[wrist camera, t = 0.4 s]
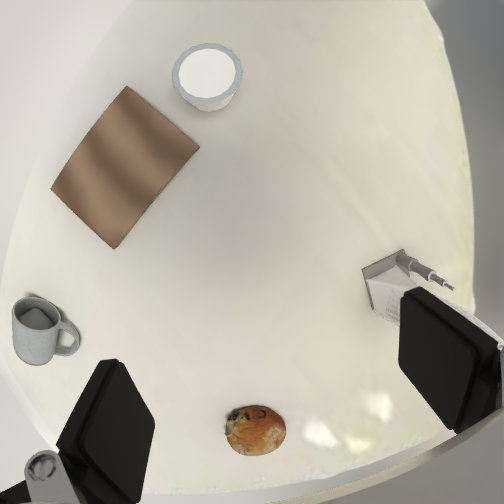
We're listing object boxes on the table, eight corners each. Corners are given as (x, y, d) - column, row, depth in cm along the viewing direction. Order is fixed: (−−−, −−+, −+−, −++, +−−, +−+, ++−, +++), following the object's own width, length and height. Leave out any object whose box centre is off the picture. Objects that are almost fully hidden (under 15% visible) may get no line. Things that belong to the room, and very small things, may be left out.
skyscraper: (412, 297, 41) (539, 406, 15) (367, 321, 42) (480, 458, 15) (402, 249, 39) (561, 342, 12) (354, 272, 39) (498, 406, 12)
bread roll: (235, 427, 50) (246, 464, 44) (210, 415, 43) (221, 459, 37) (283, 409, 50) (297, 447, 44) (265, 395, 43) (281, 440, 37)
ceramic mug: (26, 330, 38) (3, 354, 30) (29, 289, 36) (3, 311, 29) (78, 359, 40) (61, 388, 33) (86, 320, 38) (65, 347, 31)
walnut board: (130, 88, 31) (126, 85, 29) (199, 147, 34) (198, 146, 32) (55, 187, 33) (50, 188, 31) (117, 246, 36) (113, 249, 34)
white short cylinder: (169, 93, 31) (157, 77, 25) (209, 54, 31) (206, 31, 24) (211, 128, 33) (207, 118, 26) (251, 88, 32) (257, 70, 25)
